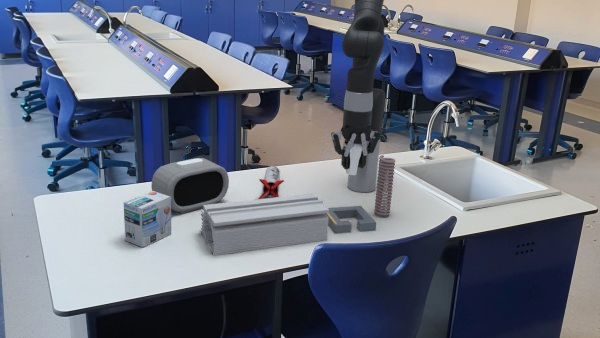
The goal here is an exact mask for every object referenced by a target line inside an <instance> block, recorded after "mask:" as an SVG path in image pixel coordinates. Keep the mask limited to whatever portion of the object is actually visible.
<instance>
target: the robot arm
mask: <svg viewBox="0 0 600 338" xmlns="http://www.w3.org/2000/svg"><path fill="white" fill-rule="evenodd" d="M384 2H385V0H354V10H353V11H354V14H353V20H352V22H351V24H350V26H349V27H348V29H347V30H346V32H345V34H344V37H343V39H342V43H341V49H342V52H343V54H344V55H345V56H346V57H347V58H350V59H351V58H352V67H350V68H348V70H347V74H346V87H345V95H344V100H343V101H344V102H343V111H342V112H343V115H342V126H341V128H340V130H339V131H336V132H334V131H333V132H331V133H330V135H331V141H332V143H333V147H334V151H335V152H336V153H337V154H338V155H340V156H341V161H340V162H341V163H340V164H341V165H340V166H341V167H342V168H343V169H344V170H346V169H348V161H349V157H348V154H349V151H350V149H351V148H352V145H353V144H355V143H356V144H362V147H363V150H362V155H361V160H360V165H359V170H358V174H357V175H349V174H347V175H348V176H347V188H348V189H349V190H351V191H354V192H358V193H370V192H373V191H375V190H376V189H377V188H376V187H377V177H378V170H379V169H378V167H379V157H380V145H381V136H382V128H383V119H384V114H385V106H386V93H385V90H384V89H381V88H375V87H374V81H375V80H374V79H375V73H376V70H377V66H378V63H379V60H380V58H381V55H382V54H383V50H384V46H385V23H384V20H383V18H382V13H383V12H382V11H383V5H384ZM341 137H343V143H342V146H341V142H340V141H341ZM366 141H367V142H366Z"/></svg>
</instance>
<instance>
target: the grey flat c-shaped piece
mask: <svg viewBox="0 0 600 338" xmlns="http://www.w3.org/2000/svg"><path fill="white" fill-rule="evenodd" d="M327 208H328V209H329V213H324V214H325V215H327V216H328V218H329V219H328V227H329V228H330V229H331V231H332V232H333V234H345V233H346V234H347V233H352V227H353V225H352V222H351V221H350V220H341V219H349V218H355V219H356V220H357V221H356V229H357V230H358V232H372V231H377V222H376V220H375V219H374V218H373V216H371V215H370V214H369V212H368V211H366V209H364V208H363V206H362V205H353V206H337V207H327Z"/></svg>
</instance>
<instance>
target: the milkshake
mask: <svg viewBox="0 0 600 338" xmlns="http://www.w3.org/2000/svg"><path fill="white" fill-rule="evenodd" d="M366 142H367V141H366ZM362 150H363V147H362V144H356V143H355V144H353V145H352V148H351V149H350V151H349V154H348V157H349V161H348V169H345V173H346V174H347V175H357V174H358V170H359V165H360V160H361V155H362Z"/></svg>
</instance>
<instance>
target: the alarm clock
mask: <svg viewBox="0 0 600 338" xmlns="http://www.w3.org/2000/svg"><path fill="white" fill-rule="evenodd" d="M229 179H230V178H229V174H228V172H227V170H226V169H225V167H223V166H221V165H219V164H217V163H215V162H213V161H210V160H208V159H206V158H204V157H197V158H191V159H185V160H179V161H175V162H170V163H167V164H165V165H161V166H159V168H157V169H156V170H155V172H154V174H153V175H152V179H151V191H155V192H158V193H161V194H164V195H167V196H170V197H171V211H175V212H177V213H180V214H186V213H189V212H192V211H196V210H200V209H203V205H209V204H217V203H218V202H220V201H222V200H223V199H224V198H225V197H226V194H227V193H228V189H229V183H230V180H229Z"/></svg>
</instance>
